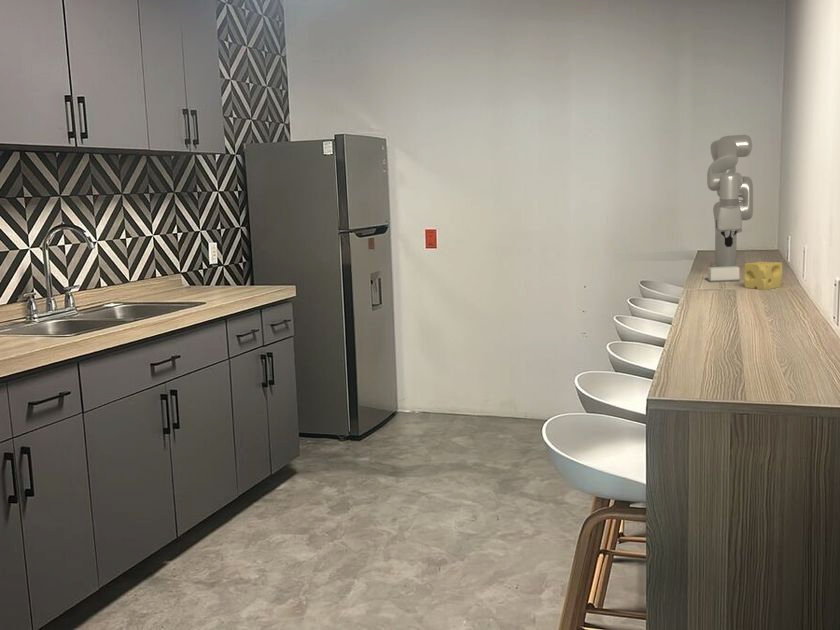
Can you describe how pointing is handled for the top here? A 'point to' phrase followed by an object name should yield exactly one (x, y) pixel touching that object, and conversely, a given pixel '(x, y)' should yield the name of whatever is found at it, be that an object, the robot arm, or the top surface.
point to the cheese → (763, 275)
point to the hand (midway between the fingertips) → (728, 246)
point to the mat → (720, 280)
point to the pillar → (724, 273)
